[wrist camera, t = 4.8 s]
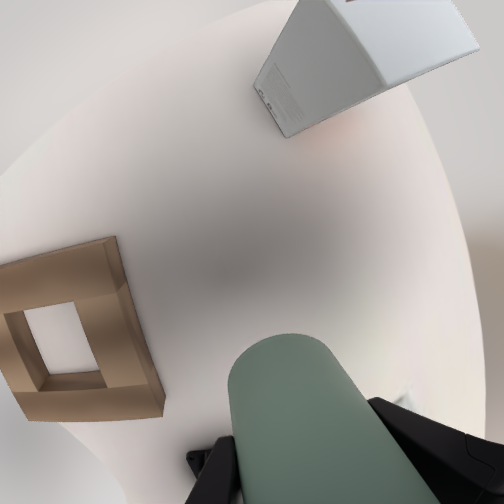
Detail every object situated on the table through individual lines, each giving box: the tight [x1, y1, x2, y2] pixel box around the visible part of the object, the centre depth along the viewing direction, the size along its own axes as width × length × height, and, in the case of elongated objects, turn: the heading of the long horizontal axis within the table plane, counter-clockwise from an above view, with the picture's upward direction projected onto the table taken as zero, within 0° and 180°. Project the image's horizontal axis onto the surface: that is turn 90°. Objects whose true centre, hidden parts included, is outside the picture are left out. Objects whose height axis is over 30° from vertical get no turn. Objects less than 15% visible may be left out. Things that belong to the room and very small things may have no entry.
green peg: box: [228, 334, 440, 504], centre depth 7 cm, size 4×4×8 cm
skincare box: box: [254, 0, 480, 138], centre depth 13 cm, size 6×4×12 cm
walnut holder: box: [0, 236, 166, 422], centre depth 19 cm, size 12×12×2 cm
